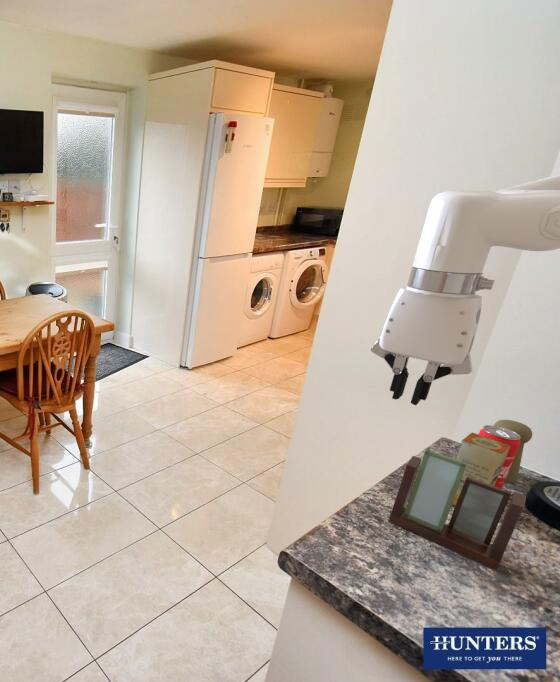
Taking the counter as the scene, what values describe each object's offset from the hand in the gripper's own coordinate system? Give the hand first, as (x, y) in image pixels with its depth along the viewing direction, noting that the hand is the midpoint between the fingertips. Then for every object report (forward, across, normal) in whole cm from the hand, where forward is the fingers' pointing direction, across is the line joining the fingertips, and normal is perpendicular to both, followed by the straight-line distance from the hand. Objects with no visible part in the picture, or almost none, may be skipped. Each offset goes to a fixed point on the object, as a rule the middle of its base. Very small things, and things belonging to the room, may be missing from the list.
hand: (406, 398), depth 69 cm
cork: (+21, -12, -32) cm, 40 cm away
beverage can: (+21, -11, -22) cm, 33 cm away
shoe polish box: (+21, -10, -15) cm, 28 cm away
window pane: (+19, -6, 0) cm, 20 cm away
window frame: (+21, -9, -1) cm, 23 cm away
